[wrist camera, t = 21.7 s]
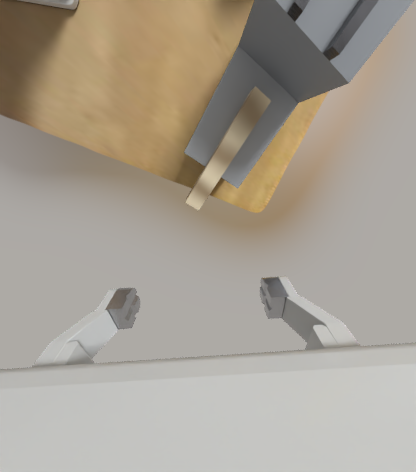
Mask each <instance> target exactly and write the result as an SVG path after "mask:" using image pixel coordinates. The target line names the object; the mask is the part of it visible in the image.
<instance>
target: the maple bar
mask: <svg viewBox="0 0 416 472" xmlns="http://www.w3.org/2000/svg"><path fill="white" fill-rule="evenodd" d="M270 102H271V100H270V99H269V98H268V97H267V96H265V95H264V94H263V93H262V92H261V91H260V90H259V89H258V88H257V87H256V86H255V87H254V88H253V89H252V90H251V91H250V93H249V95H248V96H247V98H246V100H245V101H244V103H243V105H242V106H241V108H240V110H239V111H238V113H237V115H236V116H235V118H234V120H233V121H232V123H231V125H230V126H229V128H228V130H227V131H226V133H225V135H224V136H223V138H222V140H221V141H220V143H219V145H218V146H217V148H216V150H215V151H214V153H213V155H212V156H211V158H210V160H209V161H208V163H207V165H206V166H205V168H204V170H203V171H202V173H201V175H200V176H199V178H198V180H197V181H196V183H195V185H194V186H193V188H192V190H191V191H190V193H189V195H188V196H187V199H186V201H185V203H186V204H188V205H190V206H191V207H193V208H195V209H196V210H198V211H199V210H200V208H201V207H202V205H203V204H204V202H205V201H206V199H207V198H208V196H209V195H210V193H211V192H212V190H213V189H214V187H215V186H216V184H217V183H218V181H219V180H220V178H221V176H222V175H223V173H224V172H225V170H226V169H227V167H228V166H229V164H230V163H231V161H232V160H233V158H234V157H235V155H236V154H237V152H238V151H239V149H240V148H241V146H242V145H243V143H244V142H245V140H246V139H247V137H248V135H249V134H250V132H251V131H252V129H253V128H254V126H255V125H256V123H257V122H258V120H259V119H260V117H261V116H262V114H263V113H264V111H265V110H266V108H267V107H268V105H269V104H270Z"/></svg>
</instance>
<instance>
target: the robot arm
mask: <svg viewBox="0 0 416 472" xmlns="http://www.w3.org/2000/svg"><path fill="white" fill-rule="evenodd" d="M19 1H25V2H31V3H37V4H43V5H48V6H54V7H60V8H66V9H75V8H76V7H77V5H78V1H79V0H19ZM261 285H262V286H261V287H260V297H261V300H262V303H263V304H264V305H265V312H266V315H267V317H268V318H282V319H283V320H284V321H285V322H286V323H288V325H289V326H290V327H292V329H294V330H295V331H296V332H297V333H298V334H299V335H300V336H301V337H302V338H303V339H304V340H305V341H306V342H307V346H306V348H305V350H296V351H280V352H264V353H249V354H234V355H220V356H219V355H218V356H204V357H188V358H187V357H186V358H172V359H156V360H140V361H124V362H108V363H94V362H93V360H92V358H93V357H94V356H95V354H97V352H98V351H99V350H100V349H101V348H102V347H103V346H104V345H105V344H106V343H107V342H108V341H109V339H110V338H111V337H112V336H113V335H114V334H115V333H116V332H117V331H118V329H127V328H132V326H133V324H134V321H135V319H136V318H135V314H136V313H137V312H138V311H139V308H140V299H139V297H138V296H137V295H136V293H137V291H136V289H135V288H120V289H110V290H109V291H108V293H107V294H106V296H105V297H104V299H103V300H102V302H101V303H100V305H99V307H98V308H97V310H96V311H93V312H91V313H90V314H89V315H87V316H86V317H84V318H83V319H82V320H80V321H79V322H78V323H76V324H75V325H74V326H72V327H71V328H69V329H68V330H67V331H65V332H64V333H63V334H61V335H60V336H58V337H57V338H56V339H54V340H53V341H52V342H50V344H49V345H48V346H47V348H46V349H45V350H44V352H43V353H42V354H41V355H40V357H39V358H38V360H37V361H36V362H35V363H34V365H33V366H32V367H31V368H16V369H0V472H416V343H405V344H404V343H403V344H387V345H372V346H360V344H359V343H358V342H357V340H356V339H355V338H354V337H353V335H352V334H351V332H350V331H349V330H348V328H347V327H346V326H345V324H344V323H343V322H341V321H339V320H338V319H337V318H335V317H333V316H332V315H330V314H329V313H327V312H325V311H324V310H322V309H321V308H319V307H318V306H316V305H315V304H313V303H311V302H309V301H308V300H306V299H305V298H303V297H302V296H298V295H297V293H296V291H295V289H294V288H293V286H292V285H291V283H290V281H289V280H288V278H287V277H286V276H280V277H269V278H261Z"/></svg>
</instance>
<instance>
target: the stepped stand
mask: <svg viewBox="0 0 416 472" xmlns="http://www.w3.org/2000/svg"><path fill="white" fill-rule="evenodd" d="M413 1H414V0H254V3H253V6H252V9H251V12H250V14H249V17H248V20H247V23H246V26H245V28H244V31H243V34H242V37H241V40H240V43H239V45H238V47H237V49H236V51H235V53H234V55H233V57H232V59H231V61H230V63H229V65H228V67H227V69H226V71H225V73H224V75H223V77H222V79H221V81H220V83H219V85H218V87H217V89H216V91H215V93H214V95H213V97H212V99H211V101H210V102H209V104H208V106H207V108H206V110H205V112H204V114H203V116H202V118H201V120H200V122H199V124H198V126H197V128H196V130H195V132H194V134H193V136H192V138H191V140H190V142H189V144H188V146H187V148H186V150H185V152H184V153H186V154H187V155H189V156H190V157H192V158H193V159H194V160H196V161H197V162H199V163H200V164H202V165H203V166H206V165H207V163H208V161H209V160H210V158H211V156H212V155H213V153H214V151H215V150H216V148H217V146H218V145H219V143H220V141H221V140H222V138H223V136H224V135H225V133H226V131H227V130H228V128H229V126H230V125H231V123H232V121H233V120H234V118H235V116H236V115H237V113H238V111H239V110H240V108H241V106H242V105H243V103H244V101H245V100H246V98H247V96H248V95H249V93H250V91H251V90H252V89H253V88H254V87H255V86H256V87H257V88H258V89H259V90H260V91H261V92H262V93H263V94H264V95H265V96H267V97H268V98H269V99H270V100H271V102H270V104H269V105H268V107H267V108H266V110H265V111H264V113H263V114H262V116H261V117H260V119H259V120H258V122H257V123H256V125H255V126H254V128H253V129H252V131H251V132H250V134H249V135H248V137H247V139H246V140H245V142H244V143H243V145H242V146H241V148H240V149H239V151H238V152H237V154H236V155H235V157H234V158H233V160H232V161H231V163H230V164H229V166H228V167H227V169H226V170H225V172H224V173H223V175H222V176H221V178H223V179H224V180H226V181H227V182H229V183H230V184H232V185H233V186H235V187H236V188H239V186H240V185H241V183H242V182H243V180H244V179H245V178H246V176H247V175H248V173H249V172H250V171H251V169H252V168H253V166H254V165H255V164H256V162H257V161H258V159H259V158H260V156H261V155H262V154H263V152H264V151H265V149H266V148H267V147H268V145H269V144H270V142H271V141H272V140H273V138H274V137H275V135H276V134H277V132H278V131H279V130H280V128H281V127H282V125H283V124H284V123H285V121H286V120H287V118H288V117H289V116H290V114H291V113H292V111H293V110H294V108H295V107H296V106H297V104H298V103H299V102H302V101H304V100H307V99H309V98H312V97H315V96H317V95H320V94H322V93H325V92H327V91H330V90H332V89H335V88H337V87H340V86H343V85H345V84H348V83H349V82H350V81H351V80H352V79H353V77H354V76H355V74H356V73H357V72H358V71H359V70H360V68H361V67H362V66H363V65H364V63H365V62H366V61H367V59H368V58H369V57H370V56H371V54H372V53H373V52H374V50H375V49H376V48H377V47H378V45H379V44H380V43H381V42H382V40H383V39H384V38H385V37H386V35H387V34H388V33H389V31H390V30H391V29H392V28H393V26H394V25H395V24H396V22H397V21H398V20H399V19H400V17H401V16H402V15H403V14H404V12H405V11H406V10H407V9H408V7H409V6H410V5H411V4H412V2H413Z"/></svg>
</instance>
